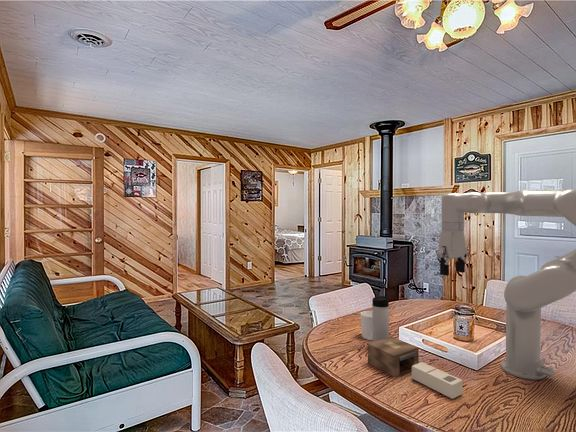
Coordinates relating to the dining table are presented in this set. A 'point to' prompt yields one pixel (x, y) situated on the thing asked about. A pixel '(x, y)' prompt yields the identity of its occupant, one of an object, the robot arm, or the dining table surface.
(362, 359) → the dining table surface
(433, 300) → the dining table surface
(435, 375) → the cream rectangular block
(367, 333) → the white cup
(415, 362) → the box
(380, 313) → the travel mug
